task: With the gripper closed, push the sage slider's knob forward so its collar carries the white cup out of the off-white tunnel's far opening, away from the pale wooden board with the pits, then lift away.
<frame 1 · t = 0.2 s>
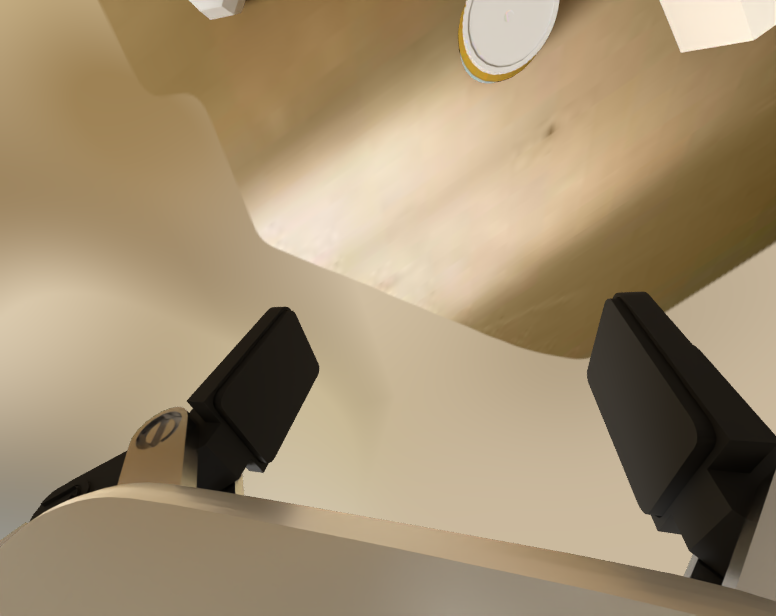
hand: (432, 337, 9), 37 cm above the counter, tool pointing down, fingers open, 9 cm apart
bottle: (493, 42, 32), on the counter
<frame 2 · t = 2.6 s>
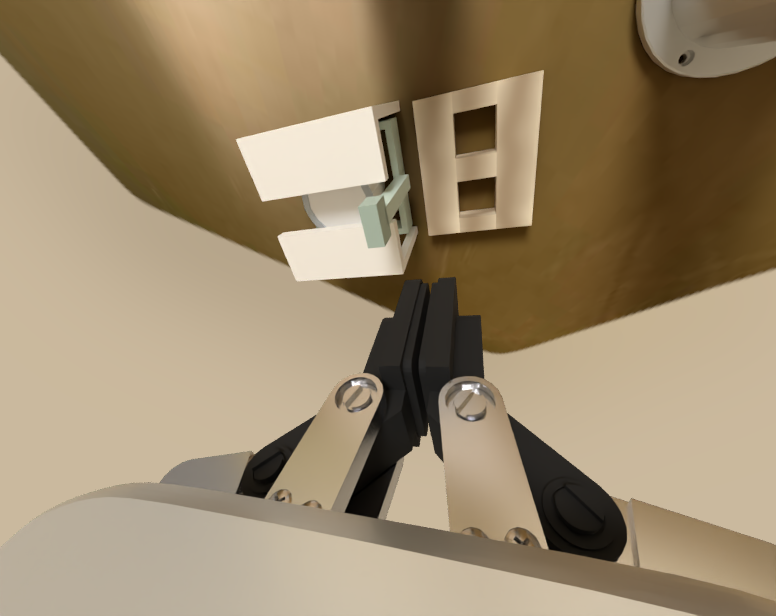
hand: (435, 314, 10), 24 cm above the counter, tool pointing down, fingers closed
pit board: (475, 163, 28), on the counter
white cup: (360, 181, 32), resting in slider
slider: (339, 203, 26), point 7 cm above the counter, slide at 0.0 cm
tunnel: (359, 182, 32), on the counter
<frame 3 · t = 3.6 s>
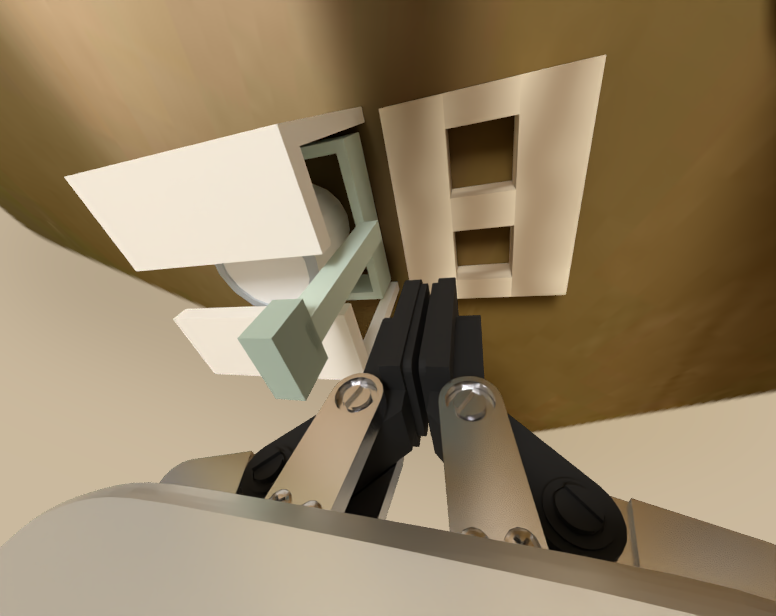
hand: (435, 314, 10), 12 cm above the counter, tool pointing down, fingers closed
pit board: (481, 201, 19), on the counter
white cup: (315, 221, 22), resting in slider
slider: (265, 270, 16), point 7 cm above the counter, slide at 0.0 cm
tunnel: (313, 222, 22), on the counter
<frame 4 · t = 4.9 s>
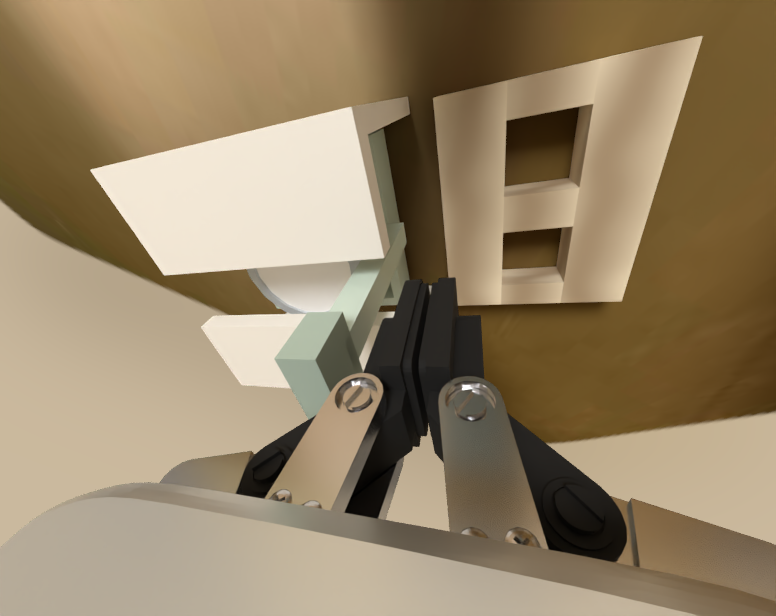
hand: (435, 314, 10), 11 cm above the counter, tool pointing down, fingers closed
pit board: (532, 200, 17), on the counter
white cup: (346, 221, 21), resting in slider
slider: (285, 276, 15), point 7 cm above the counter, slide at 1.1 cm, touching gripper
tunnel: (345, 222, 21), on the counter
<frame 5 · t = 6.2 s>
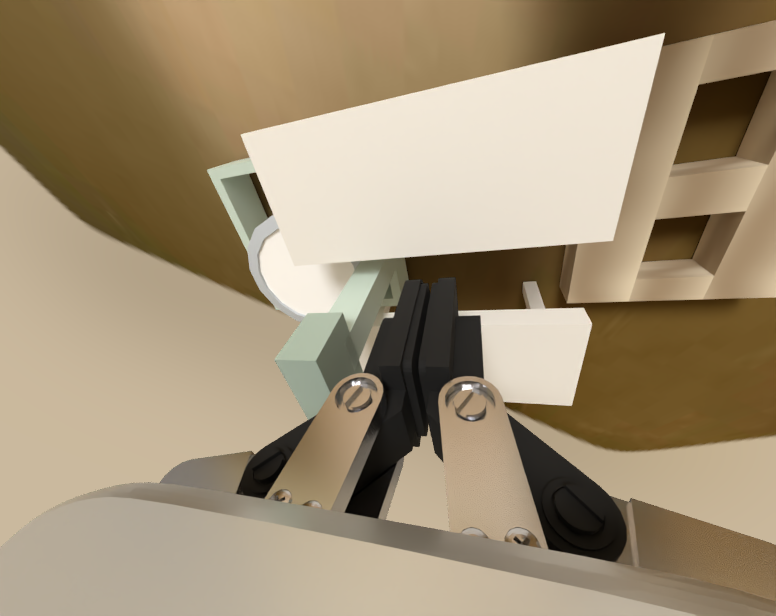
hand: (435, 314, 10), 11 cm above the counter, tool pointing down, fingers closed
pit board: (683, 183, 15), on the counter
white cup: (350, 227, 21), resting in slider
slider: (284, 277, 15), point 7 cm above the counter, slide at 8.3 cm, touching gripper, white cup
tunnel: (448, 211, 19), on the counter
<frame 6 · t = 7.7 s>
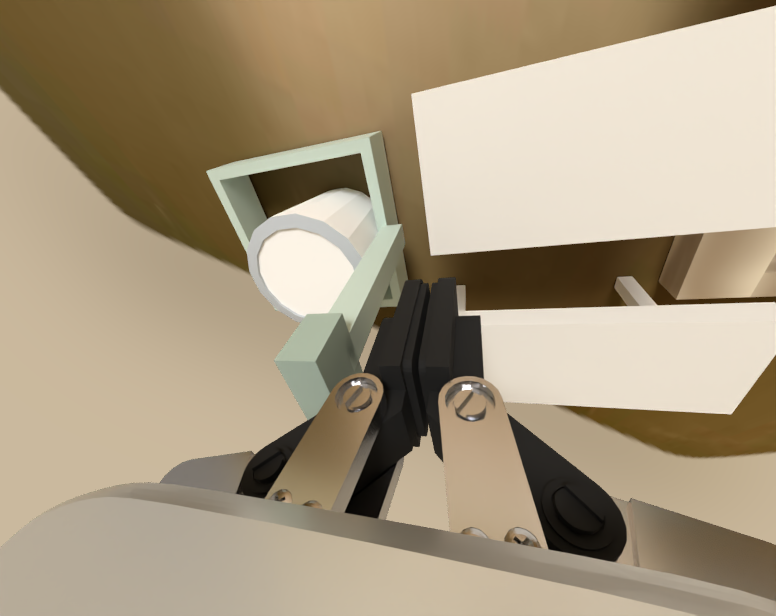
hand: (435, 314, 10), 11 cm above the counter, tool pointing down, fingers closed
white cup: (350, 228, 21), resting in slider
slider: (284, 278, 15), point 7 cm above the counter, slide at 13.9 cm, touching gripper, white cup
tunnel: (544, 199, 17), on the counter
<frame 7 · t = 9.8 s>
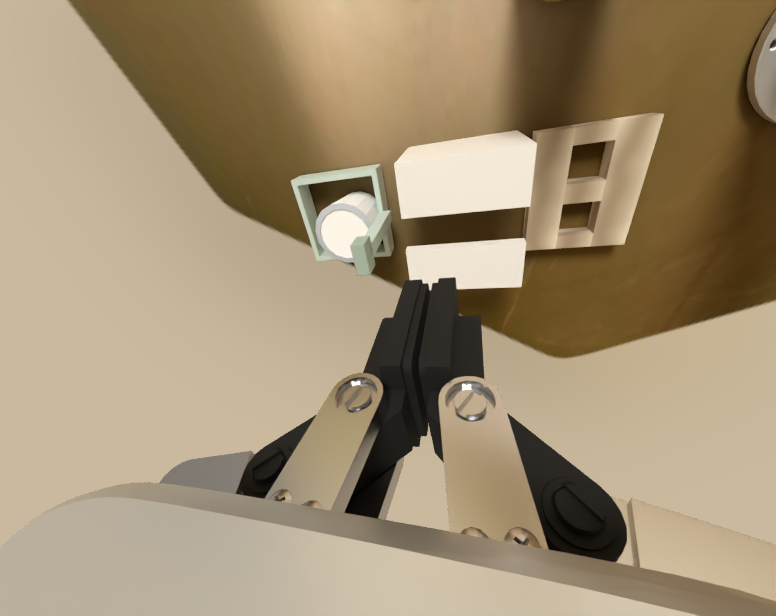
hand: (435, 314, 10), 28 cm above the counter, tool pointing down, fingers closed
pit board: (577, 187, 32), on the counter
white cup: (361, 213, 38), resting in slider
slider: (334, 233, 32), point 7 cm above the counter, slide at 13.9 cm, touching white cup
tunnel: (461, 200, 35), on the counter
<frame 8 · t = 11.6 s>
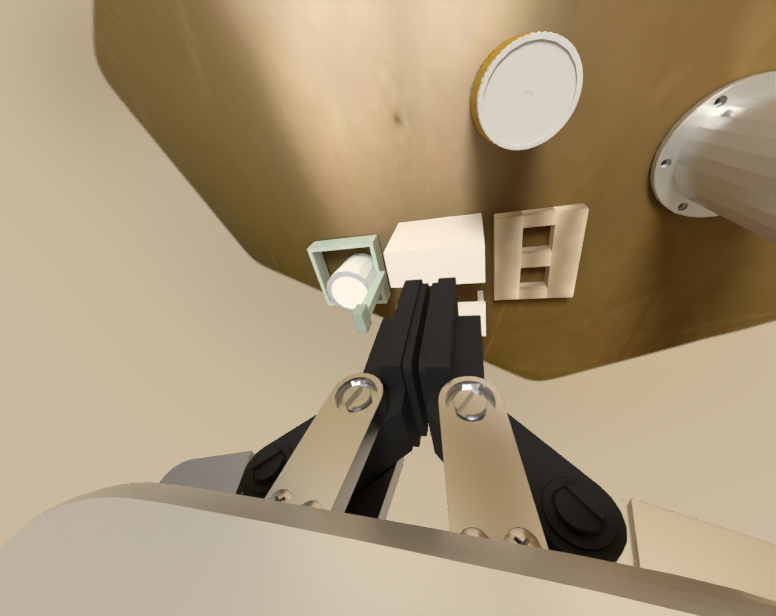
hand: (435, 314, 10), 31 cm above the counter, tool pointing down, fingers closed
bottle: (504, 93, 31), on the counter
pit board: (533, 253, 40), on the counter
white cup: (363, 268, 47), resting in slider
slider: (341, 292, 41), point 7 cm above the counter, slide at 13.9 cm, touching white cup
tunnel: (442, 260, 43), on the counter
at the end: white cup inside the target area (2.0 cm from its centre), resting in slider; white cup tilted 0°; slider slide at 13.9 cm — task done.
